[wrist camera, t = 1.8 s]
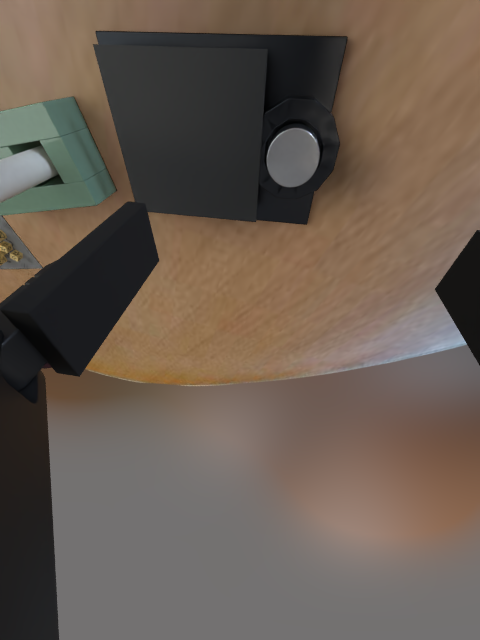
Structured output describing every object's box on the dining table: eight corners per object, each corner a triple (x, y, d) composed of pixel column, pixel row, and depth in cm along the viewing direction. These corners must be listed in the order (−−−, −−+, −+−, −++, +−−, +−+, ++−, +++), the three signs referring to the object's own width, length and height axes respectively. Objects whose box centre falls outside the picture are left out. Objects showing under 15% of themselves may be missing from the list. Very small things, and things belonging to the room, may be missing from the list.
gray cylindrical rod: (47, 141, 25) (-127, 200, 15) (67, 137, 25) (-98, 196, 14) (62, 168, 27) (-84, 238, 17) (81, 165, 26) (-57, 236, 16)
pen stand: (-40, 121, 25) (-81, 129, 23) (73, 96, 22) (41, 102, 20) (19, 202, 31) (-8, 216, 28) (117, 190, 28) (97, 205, 25)
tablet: (143, 206, 29) (133, 216, 27) (99, 31, 19) (80, 29, 17) (316, 222, 27) (317, 234, 25) (361, 37, 17) (367, 35, 16)
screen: (138, 210, 26) (137, 210, 26) (93, 44, 18) (92, 44, 18) (256, 221, 25) (256, 222, 25) (267, 49, 17) (267, 49, 17)
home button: (266, 178, 23) (264, 185, 21) (271, 121, 20) (269, 126, 18) (312, 181, 22) (313, 189, 21) (324, 124, 19) (325, 129, 18)
